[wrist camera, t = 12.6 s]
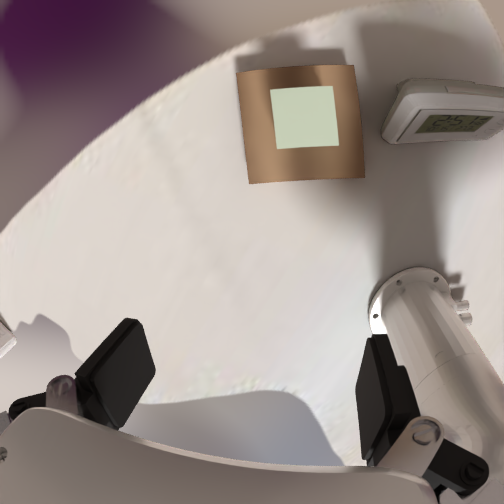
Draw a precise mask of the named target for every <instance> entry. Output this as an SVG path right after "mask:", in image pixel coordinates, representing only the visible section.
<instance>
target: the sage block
mask: <svg viewBox="0 0 504 504" xmlns="http://www.w3.org/2000/svg"><path fill="white" fill-rule="evenodd" d="M270 93H271V102H272V110H273V118H274V127H275V136H276V146H277V149H285V148H299V147H317V146H339V140H338V129H337V119H336V110H335V101H334V93H333V86H316V87H297V88H284V89H273V90H270Z"/></svg>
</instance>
